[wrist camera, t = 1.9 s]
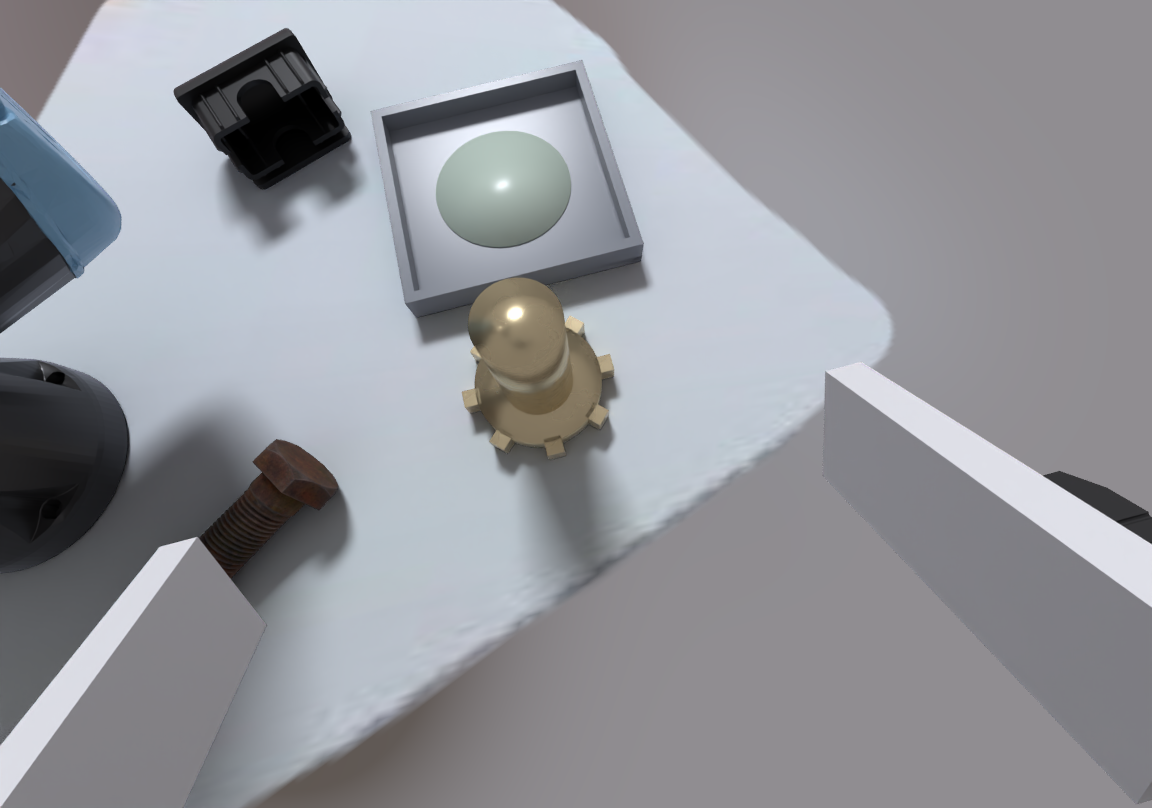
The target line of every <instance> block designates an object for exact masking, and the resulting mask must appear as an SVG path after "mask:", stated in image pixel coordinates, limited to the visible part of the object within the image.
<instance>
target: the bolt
mask: <svg viewBox="0 0 1152 808" xmlns="http://www.w3.org/2000/svg"><path fill="white" fill-rule="evenodd" d="M253 463H254V464H255V465H256V466H257V467H258V468H259V469H260V470H261V472H262V473H261V474H260V475H259V476H258V477H257V478H256V479H255V480H254V481H253V482H252V483H251V484H250V487H249V488H248V490H247V491H245V492H244V494H243V495H242V496H241V497H240V498H239V499H238V500H237V501H236V502H235V503H234V504H233V505H232V506H231V507H229V510H226V511H225V514H222V515H221V517H220V518H218V519H217V521H216V522H214V523H213V526H211V527H210V528H209V529H208V530H206V531H205V533H204V534H203V535H202V536H201V537H200V538H199V539H200V541H201V542H202V543H203V545H204V546H205V547H206V548H207V550H208V551H209V552H210V553H211V555H212V556H213V557H214V559H215V560H216V561H217V562H218V564H219V565H220V566H221V567H222V569H223V570H224V571H225V572H226V574H227V575H228V576H229V578H230V579H231V578H232V577H233V575H235V574H236V572H237V571H239V570H240V568H241V567H242V566H243V565H244V564H245V563H246V562H247V561H248V560H249V559H250V558H251V557H252V556H253V555H254V554H255V553H256V552H257V551H258V550H259V548H261V547H262V546H263V544H265V543H266V542H267V540H269V539H270V537H271V536H272V535H274V533H275V532H276V531H278V529H279V528H280V527H281V526H282V525H283V524H284V523H285V522H286V521H287V520H288V519H289V518H290V517H291V516H294V515H295V514H296V513H297V512H298V511H299V510H300V509H301V508H302V507H303V506H304V505H305V504H306V505H309V506H311V507H313V508H315V509H317V510H320V509H321V508H322V507H323V506H324V505H325V504H326V503H327V501H328V500H329V499H330V498H331V497H332V496H333V495H334V493H335V492H336V490H337V488H338V484H337V482H336V479H335V478H334V476H333V475H332V474H331V473H330V472H329V471H328V469H327V468H326V467H325V466H324V465H323V464H322V463H320V462H319V461H318V460H317V459H316V458H314V457H313V456H312V455H310V454H309V453H308V452H306V451H305V450H303V449H302V448H301V447H299V446H297V445H295V444H292V443H290V442H287V441H283V440H278V439H276V440H275V441H274V442H273V443H271V444H270V445H269V446H268V447H267V448H266V449H265V450H264V451H263V452H262V453H261V454H260V455H259V456H258V457H257V458H256V459H255V460H254V461H253Z"/></svg>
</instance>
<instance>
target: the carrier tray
mask: <svg viewBox="0 0 1152 808" xmlns="http://www.w3.org/2000/svg"><path fill="white" fill-rule="evenodd" d="M371 117H372V122H373V128H374V133H375V139H376V145H377V150H378V156H379V161H380V167H381V172H382V178H383V183H384V189H385V195H386V200H387V206H388V211H389V217H390V222H391V228H392V233H393V239H394V245H395V250H396V256H397V261H398V267H399V272H400V278H401V283H402V289H403V295H404V300H405V304H406V305H407V307H408V308H409V309H410V310H411V312H412V313H413V314H414V315H415V317H416V318H417V317H421V316H425V315H429V314H433V313H437V312H441V311H445V310H449V309H453V308H457V307H461V306H465V305H469V304H473V303H474V302H475V300H476V298H477V297H478V296H479V295H480V294H481V293H482V292H483V291H484V290H485V289H486V288H488V287H489V286H491V285H492V284H494V283H496V282H498V281H501V280H504V279H508V278H517V277H519V278H528V279H532V280H536V281H538V282H540V283H542V284H544V285H548V284H552V283H556V282H560V281H564V280H568V279H572V278H576V277H580V276H584V275H588V274H592V273H596V272H600V271H604V270H608V269H612V268H616V267H620V266H623V265H627V264H631V263H635V262H639V261H641V258H642V251H643V244H644V243H643V240H642V237H641V234H640V231H639V228H638V225H637V222H636V219H635V216H634V213H633V210H632V207H631V204H630V201H629V198H628V195H627V192H626V189H625V186H624V183H623V180H622V177H621V174H620V171H619V168H618V165H617V162H616V159H615V156H614V153H613V150H612V147H611V144H610V141H609V138H608V135H607V132H606V129H605V126H604V123H603V120H602V117H601V114H600V111H599V108H598V105H597V102H596V99H595V96H594V93H593V90H592V87H591V84H590V81H589V78H588V75H587V72H586V69H585V66H584V63H583V60H581V61H576V62H572V63H568V64H564V65H560V66H556V67H552V68H547V69H543V70H539V71H535V72H531V73H527V74H522V75H518V76H514V77H510V78H506V79H502V80H498V81H493V82H489V83H485V84H481V85H477V86H473V87H469V88H464V89H460V90H456V91H452V92H448V93H444V94H440V95H435V96H431V97H427V98H423V99H419V100H415V101H410V102H406V103H402V104H398V105H394V106H390V107H386V108H381V109H377V110H373V111H371Z"/></svg>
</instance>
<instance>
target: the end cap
mask: <svg viewBox="0 0 1152 808" xmlns="http://www.w3.org/2000/svg"><path fill="white" fill-rule="evenodd" d="M174 95H175V97H176V99H177V101H178V102H179V103H180V104H181V106H182V107H183V108H184V109H185V110H186V111H187V112H188V113H189V114H190V115H191V116H192V117H193V118H194V119H195V120H196V121H197V122H198V123H199V124H200V126H201V127H202V128H203V129H204V130H205V131H206V132H207V134H208V136H209V137H210V139H211V140H212V142H213V144H214V145H215V147H216V148H217V150H218V151H222V152H224V153H225V154H226V155H228V156H229V158H230V159H231V161H232V162H233V164H234V166H235V167H236V169H237V170H238V171H239V172H241V173H244V174H245V175H246V176H247V177H248V178H249V179H252V180H253V182H254V183H255V184H256V185H257V186H258V187H259V188H260V189H267V188H269V187H271V186H272V185H274V184H276V183H277V182H279V181H281V180H283V179H284V178H286V177H288V176H289V175H291V174H293V173H295V172H296V171H298V170H300V169H301V168H303V167H305V166H307V165H308V164H310V163H312V162H313V161H315V160H317V159H319V158H320V157H322V156H324V155H325V154H327V153H329V152H330V151H332V150H334V149H336V148H337V147H339V146H341V145H342V144H344V143H346V142H348V141H349V140H350V138H351V134H350V132H349V130H348V129H347V127H346V126H345V124H344V121H343V119H342V118H341V111H340V110H339V108H338V107H337V106H336V104H335V103H334V101H333V100H332V96H331V95H330V93H329V91H328V90H327V87H326V86H325V85H324V83H323V81H322V80H321V78H320V76H319V75H318V73H317V71H316V70H315V68H314V66H313V65H312V63H311V61H310V60H309V58H308V56H307V55H306V53H305V51H304V50H303V48H302V46H301V45H300V43H299V41H298V40H297V38H296V36H295V35H294V34H293V33H292V31H291V30H289V29H288V28H284V29H283V30H281V31H279V32H277V33H275V34H273V35H272V36H270V37H268V38H266V39H264V40H262V41H261V42H259V43H257V44H255V45H253V46H251V47H250V48H248V49H246V50H244V51H242V52H240V53H239V54H237V55H235V56H233V57H231V58H229V59H228V60H226V61H224V62H222V63H220V64H218V65H217V66H215V67H213V68H211V69H209V70H207V71H206V72H204V73H202V74H200V75H198V76H196V77H195V78H193V79H191V80H189V81H187V82H185V83H184V84H182V85H180V86H178V87H176V88H175V89H174Z"/></svg>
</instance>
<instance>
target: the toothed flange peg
mask: <svg viewBox="0 0 1152 808" xmlns="http://www.w3.org/2000/svg"><path fill="white" fill-rule="evenodd" d="M468 331H469V335H470V339H471V341H472V343H473V345H474V347H473V349H472V350H471V354H472V355H473V357H474V358H475V360H477V361H478V362H479V364H478V367H477V370H476V375H475V389H471V390H467V391H463V392H462V395H463V400H464V405H465V408H466V409H467V410H468V411H469V412H470V413H474V412H478V411H481V412H482V413H483V415H484V417H485V418H486V419H487V421H488V422H489V423H490V424H491V425H492V427H493V428H494V429H495V430H496V432H495V433H494V435H493V436H492V438H491V439H490V441H489V442H490V443H491V444H492V445H494V446H495V447H497V448H498V449H500V450H502V451H503V452H505V453H507V454H508V453H509V452H510V450H511V448H512V447H513V445H514V444H515V443H516V444H519V445H522V446H527V447H535V448H542V447H545V448H546V452H547V456H548V458H549V460H551V459H555V458H559V457H563V456H566V453H565V449H564V445H563V443H564V442H566V441H568V440H570V439H572V438H573V437H575V436H576V435H578V434H579V433H580V432H581V431H582V430H584V428H585V427H586V426H587V425H588V424H590V425H592V426H593V427H595V428H597V429H599V430H600V429H601V428H602V426H603V424H604V423H605V421H606V419H607V418H608V414H609V410H607V409H605V408H603V407H602V406H600V405H599V403H600V398H601V390H602V379H606V378H610V377H614V367H613V364H612V360H611V357H610V354H608V355H604V356H600V357H596V355H595V353H594V351H593V349H592V348H591V347H590V345H589V344H588V343H587V342H586V341H585V340H584V338H582V335H583V334H584V332H585V330H584V323H583V322H581V321H579V320H577V319H575V318H573V317H572V316H569V318H568V319H567V321H566V322H565V321H564V314H563V309H562V306H561V303H560V302H559V300H558V298H557V297H556V295H555V294H554V293H553V292H552V291H551V290H550V289H549V288H548V287H547V286H545V285H544V284H542V283H540V282H538V281H536V280H532V279H528V278H519V277H517V278H508V279H504V280H501V281H498V282H496V283H494V284H492V285H491V286H489V287H488V288H486V289H485V290H484V291H483V292H482V293H481V294H480V295H479V296H478V297H477V298H476V300H475V302H474V303H473V305H472V307H471V310H470V313H469V317H468Z"/></svg>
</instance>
